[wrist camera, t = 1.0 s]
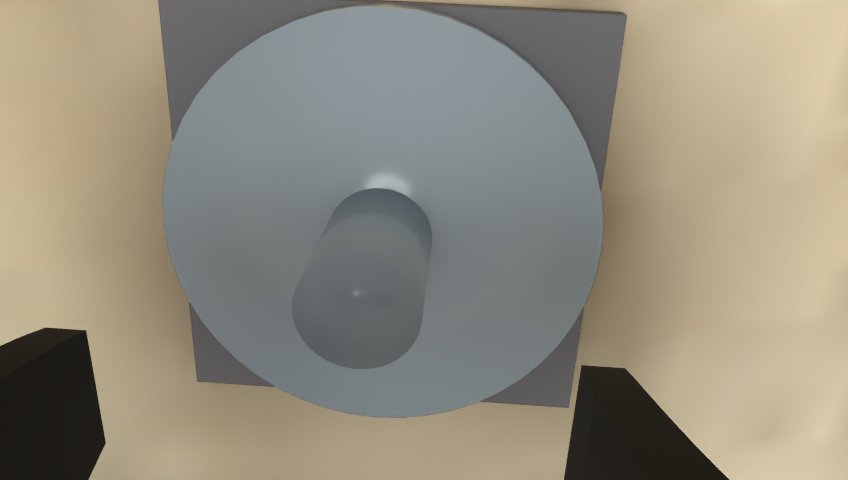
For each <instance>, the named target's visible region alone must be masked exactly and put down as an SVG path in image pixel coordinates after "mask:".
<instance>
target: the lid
mask: <svg viewBox="0 0 848 480" xmlns="http://www.w3.org/2000/svg"><path fill="white" fill-rule="evenodd" d="M163 217H164V228H165V233H166V239H167V244H168V250H169V253H170V256H171V259H172V262H173V266H174V269H175V272H176V275H177V277H178V279H179V281H180V283H181V286H182V288H183V290H184V292H185V294H186V296H187V298H188V300H189V302H190V303H191V305H192V306H193V308H194V310H195V311H196V313H197V314H198V316H199V317H200V319H201V321H202V322H203V323H204V324H205V326H206V327H207V328H208V329H209V331H210V332H211V333H212V334H213V335H214V337H215V338H216V339H217V340H218V341H219V342H220V343H221V344H222V345H223V346H224V347H225V348H226V349H227V350H228V351H229V352H230V353H231V354H232V355H233V356H234V357H235V358H236V359H237V360H238V361H240V362H241V363H242V364H243V365H245V366H246V367H247V368H249V369H250V370H251V371H252V372H254V373H255V374H256V375H258V376H259V377H261V378H263V379H264V380H266V381H267V382H269V383H271V384H272V385H274V386H276V387H277V388H279V389H281V390H283V391H285V392H287V393H289V394H291V395H294V396H296V397H298V398H300V399H302V400H305V401H308V402H310V403H313V404H316V405H319V406H322V407H325V408H328V409H332V410H336V411H341V412H345V413H349V414H355V415H363V416H371V417H389V418H405V417H416V416H427V415H432V414H437V413H442V412H447V411H452V410H455V409H458V408H461V407H465V406H468V405H471V404H474V403H477V402H479V401H481V400H483V399H486V398H488V397H490V396H492V395H494V394H497V393H499V392H500V391H502V390H504V389H505V388H507V387H509V386H510V385H512V384H514V383H515V382H517V381H519V380H520V379H522V378H523V377H524V376H525V375H527V374H528V373H529V372H530V371H532V370H533V369H534V368H535V367H537V366H538V365H539V364H540V363H541V362H542V361H543V360H544V359H545V358H546V357H547V356H548V355H549V354H550V353H551V352H552V351H553V350H554V349H555V348H556V347H557V346H558V345H559V344H560V342H561V341H562V339H563V338H564V337H565V335H566V334H567V333H568V331H569V330H570V329H571V327H572V326H573V325H574V323H575V321H576V319H577V317H578V316H579V314H580V312H581V310H582V308H583V307H584V305H585V303H586V301H587V298H588V296H589V293H590V290H591V288H592V285H593V282H594V280H595V277H596V272H597V268H598V264H599V259H600V255H601V248H602V236H603V211H602V197H601V192H600V187H599V182H598V178H597V173H596V169H595V166H594V163H593V161H592V158H591V155H590V152H589V150H588V147H587V144H586V142H585V140H584V138H583V136H582V134H581V132H580V130H579V128H578V126H577V125H576V123H575V121H574V119H573V117H572V115H571V113H570V112H569V110H568V108H567V106H566V104H565V103H564V102H563V100H562V99H561V98H560V96H559V95H558V93H557V92H556V91H555V89H554V88H553V87H552V85H551V84H550V83H549V81H548V80H547V79H546V78H545V77H544V76H543V75H542V74H541V73H540V72H539V71H538V70H537V69H536V68H535V67H534V66H533V65H532V64H531V63H530V62H529V61H528V60H527V59H526V58H524V57H523V56H522V55H521V54H519V53H518V52H517V51H515V50H514V49H513V48H512V47H510V46H509V45H508V44H507V43H505V42H504V41H502V40H500V39H499V38H497V37H495V36H493V35H492V34H490V33H488V32H487V31H485V30H483V29H481V28H480V27H478V26H475V25H473V24H470V23H468V22H466V21H463V20H461V19H458V18H456V17H454V16H451V15H448V14H444V13H440V12H437V11H433V10H429V9H425V8H421V7H414V6H406V5H398V4H356V5H350V6H344V7H337V8H331V9H327V10H323V11H320V12H317V13H314V14H311V15H307V16H304V17H301V18H299V19H296V20H294V21H292V22H290V23H288V24H286V25H284V26H282V27H280V28H277V29H275V30H273V31H271V32H269V33H267V34H265V35H263V36H262V37H260V38H259V39H257V40H256V41H254V42H253V43H251V44H250V45H248V46H247V47H245V48H244V49H242V50H241V51H239V52H238V53H236V54H235V55H234V56H233V57H232V58H231V59H230V60H228V61H227V62H226V63H225V64H224V65H223V66H222V67H221V68H220V69H219V70H217V71H216V72H215V73H214V74H213V76H212V77H211V78H210V79H209V81H208V82H207V83H206V84H205V85H204V87H203V88H202V89H201V90H200V92H199V93H198V94H197V95H196V97H195V99H194V100H193V102H192V104H191V105H190V107H189V109H188V110H187V112H186V114H185V115H184V117H183V119H182V121H181V123H180V126H179V128H178V131H177V133H176V136H175V138H174V140H173V143H172V146H171V150H170V154H169V158H168V162H167V166H166V170H165V179H164V189H163Z"/></svg>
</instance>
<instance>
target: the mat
mask: <svg viewBox="0 0 848 480" xmlns="http://www.w3.org/2000/svg"><path fill="white" fill-rule="evenodd" d="M158 2H159V12H160V22H161V32H162V41H163V51H164V61H165V71H166V80H167V90H168V100H169V110H170V120H171V129H172V139H173V140H174V138H175V136H176V133H177V131H178V128H179V126H180V123H181V121H182V119H183V117H184V115H185V114H186V112H187V110H188V109H189V107H190V105H191V104H192V102H193V100H194V99H195V97H196V95H197V94H198V93H199V92H200V90H201V89H202V88H203V87H204V85H205V84H206V83H207V82H208V81H209V79H210V78H211V77H212V76H213V74H214V73H215V72H216V71H217V70H219V69H220V68H221V67H222V66H223V65H224V64H225V63H226V62H227V61H228V60H230V59H231V58H232V57H233V56H234V55H235V54H236V53H238V52H239V51H241V50H242V49H244V48H245V47H247V46H248V45H250V44H251V43H253V42H254V41H256V40H257V39H259V38H260V37H262V36H263V35H265V34H267V33H269V32H271V31H273V30H275V29H277V28H280V27H282V26H284V25H286V24H288V23H290V22H292V21H294V20H296V19H299V18H301V17H304V16H307V15H311V14H314V13H317V12H320V11H323V10H327V9H331V8H337V7H344V6H350V5H356V4H398V5H406V6H414V7H421V8H425V9H429V10H433V11H437V12H440V13H444V14H448V15H451V16H454V17H456V18H458V19H461V20H463V21H466V22H468V23H470V24H473V25H475V26H478V27H480V28H481V29H483V30H485V31H487V32H488V33H490V34H492V35H493V36H495V37H497V38H499V39H500V40H502V41H504V42H505V43H507V44H508V45H509V46H510V47H512V48H513V49H514V50H515V51H517V52H518V53H519V54H521V55H522V56H523V57H524V58H526V59H527V60H528V61H529V62H530V63H531V64H532V65H533V66H534V67H535V68H536V69H537V70H538V71H539V72H540V73H541V74H542V75H543V76H544V77H545V78H546V79H547V80H548V81H549V83H550V84H551V85H552V87H553V88H554V89H555V91H556V92H557V93H558V95H559V96H560V98H561V99H562V100H563V102H564V103H565V104H566V106H567V108H568V110H569V112H570V113H571V115H572V117H573V119H574V121H575V123H576V125H577V126H578V128H579V130H580V132H581V134H582V136H583V138H584V140H585V142H586V144H587V147H588V150H589V152H590V155H591V158H592V161H593V163H594V166H595V169H596V173H597V178H598V182H599V187H600V192H601V187H602V180H603V173H604V167H605V160H606V153H607V146H608V140H609V133H610V126H611V120H612V113H613V106H614V99H615V93H616V86H617V79H618V72H619V66H620V59H621V52H622V46H623V39H624V32H625V25H626V19H627V15H626V14H624V13H622V12H607V11H587V10H567V9H546V8H526V7H506V6H485V5H465V4H445V3H424V2H404V1H384V0H158ZM189 305H190V315H191V325H192V334H193V344H194V354H195V364H196V373H197V381H199V382H213V383H227V384H241V385H255V386H269V387H276V386H274V385H272V384H271V383H269V382H267V381H266V380H264V379H263V378H261V377H259V376H258V375H256V374H255V373H254V372H252V371H251V370H250V369H249V368H247V367H246V366H245V365H243V364H242V363H241V362H240V361H238V360H237V359H236V358H235V357H234V356H233V355H232V354H231V353H230V352H229V351H228V350H227V349H226V348H225V347H224V346H223V345H222V344H221V343H220V342H219V341H218V340H217V339H216V338H215V337H214V335H213V334H212V333H211V332H210V331H209V329H208V328H207V327H206V326H205V324H204V323H203V322H202V321H201V319H200V317H199V316H198V314H197V313H196V311H195V310H194V308H193V306H192V305H191V303H190V302H189ZM583 308H584V307H583ZM583 308H582V310H581V312H580V314H579V316H578V317H577V319H576V321H575V323H574V325H573V326H572V327H571V329H570V330H569V331H568V333H567V334H566V335H565V337H564V338H563V339H562V341H561V342H560V344H559V345H558V346H557V347H556V348H555V349H554V350H553V351H552V352H551V353H550V354H549V355H548V356H547V357H546V358H545V359H544V360H543V361H542V362H541V363H540V364H539V365H538V366H537V367H535V368H534V369H533V370H532V371H530V372H529V373H528V374H527V375H525V376H524V377H523V378H522V379H520V380H519V381H517V382H515V383H514V384H512V385H510V386H509V387H507V388H505V389H504V390H502V391H500V392H499V393H497V394H494V395H492V396H490V397H488V398H486V399H483V400H481V401H479V402H493V403H507V404H521V405H535V406H549V407H563V408H569V402H570V396H571V389H572V382H573V375H574V369H575V362H576V355H577V348H578V342H579V335H580V328H581V321H582V315H583Z"/></svg>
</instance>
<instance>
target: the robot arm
mask: <svg viewBox="0 0 848 480" xmlns="http://www.w3.org/2000/svg"><path fill="white" fill-rule="evenodd" d="M105 443H106V442H105V437H104V431H103V425H102V419H101V414H100V408H99V402H98V396H97V391H96V385H95V379H94V373H93V368H92V362H91V356H90V350H89V345H88V339H87V333H86V330H71V329H57V328H43V329H41V330H38V331H35V332H32V333H30V334H27V335H25V336H22V337H20V338H18V339H15V340H13V341H11V342H8V343H6V344H4V345H2V346H0V480H88V479H89V477H90V475H91V473H92V471H93V469H94V466H95V464H96V462H97V460H98V458H99V456H100V454H101V452H102V450H103V447H104V445H105ZM564 480H729V479H728V478H727V477H726V476H725V475H724V474H723V473H722V472H721V471H720V470H719V469H718V468H717V467H716V466H715V465H714V464H713V463H712V462H711V461H710V460H709V459H708V458H707V457H706V456H705V455H704V454H703V453H702V452H701V451H700V450H699V449H698V448H697V447H696V446H695V445H694V444H693V443H692V441H691V440H690V439H689V438H688V437H687V436H686V435H685V434H684V433H683V432H682V431H681V430H680V429H679V428H678V426H677V425H676V424H675V423H674V422H673V421H672V420H671V419H670V418H669V417H668V415H667V414H666V413H665V412H664V411H663V410H662V409H661V408H660V407H659V406H658V404H657V403H656V402H655V401H654V400H653V399H652V398H651V397H650V395H649V394H648V393H647V392H646V391H645V390H644V389H643V388H642V386H641V385H640V384H639V383H638V382H637V381H636V380H635V379H634V377H633V376H632V375H631V374H630V373H629V372H628V371H627V370H626V369H625V368H612V367H597V366H583V365H582V366H581V373H580V379H579V386H578V392H577V399H576V405H575V412H574V418H573V425H572V431H571V438H570V444H569V451H568V457H567V464H566V470H565V477H564Z"/></svg>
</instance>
